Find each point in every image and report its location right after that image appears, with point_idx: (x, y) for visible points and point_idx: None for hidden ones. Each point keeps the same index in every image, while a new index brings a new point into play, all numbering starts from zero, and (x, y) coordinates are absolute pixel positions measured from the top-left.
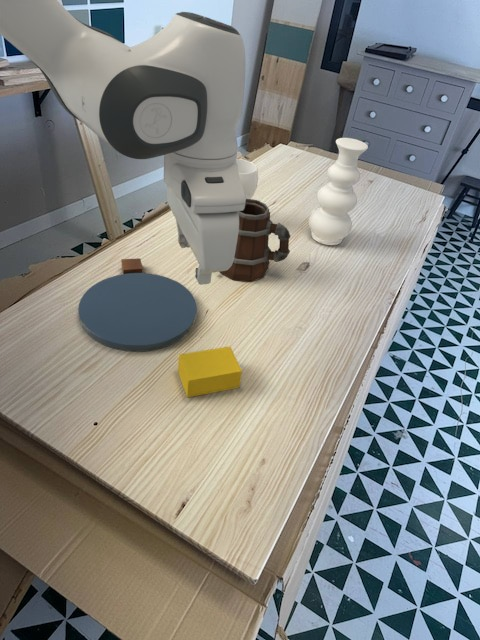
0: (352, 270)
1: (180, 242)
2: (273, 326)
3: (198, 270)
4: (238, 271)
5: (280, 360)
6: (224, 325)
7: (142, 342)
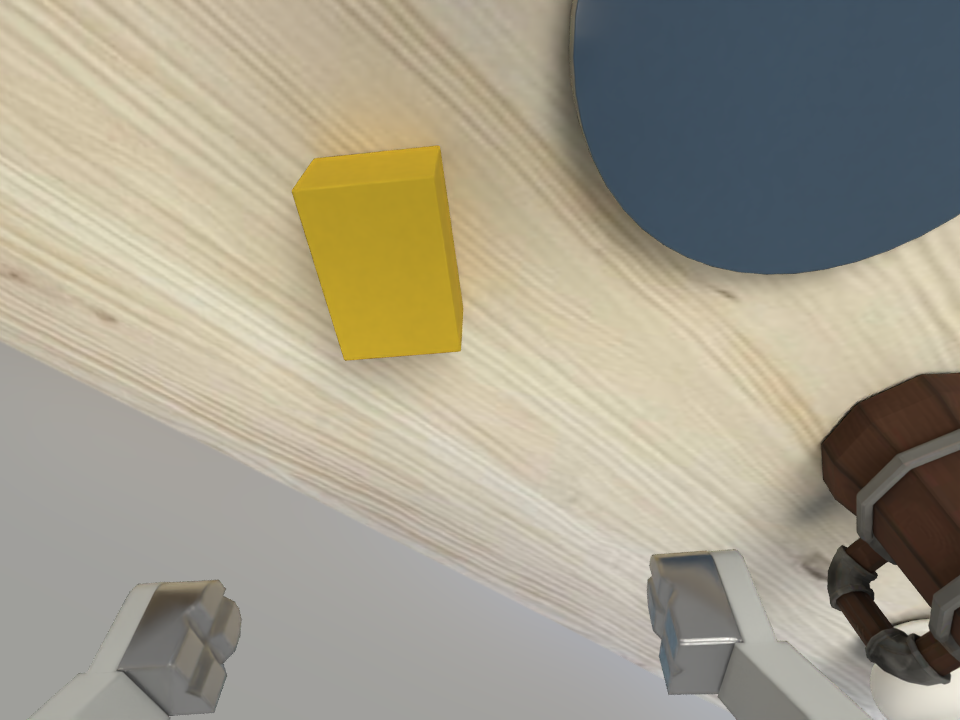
0: None
1: (675, 591)
2: (595, 449)
3: (68, 707)
4: (869, 439)
5: (457, 432)
6: (638, 332)
7: (593, 15)
